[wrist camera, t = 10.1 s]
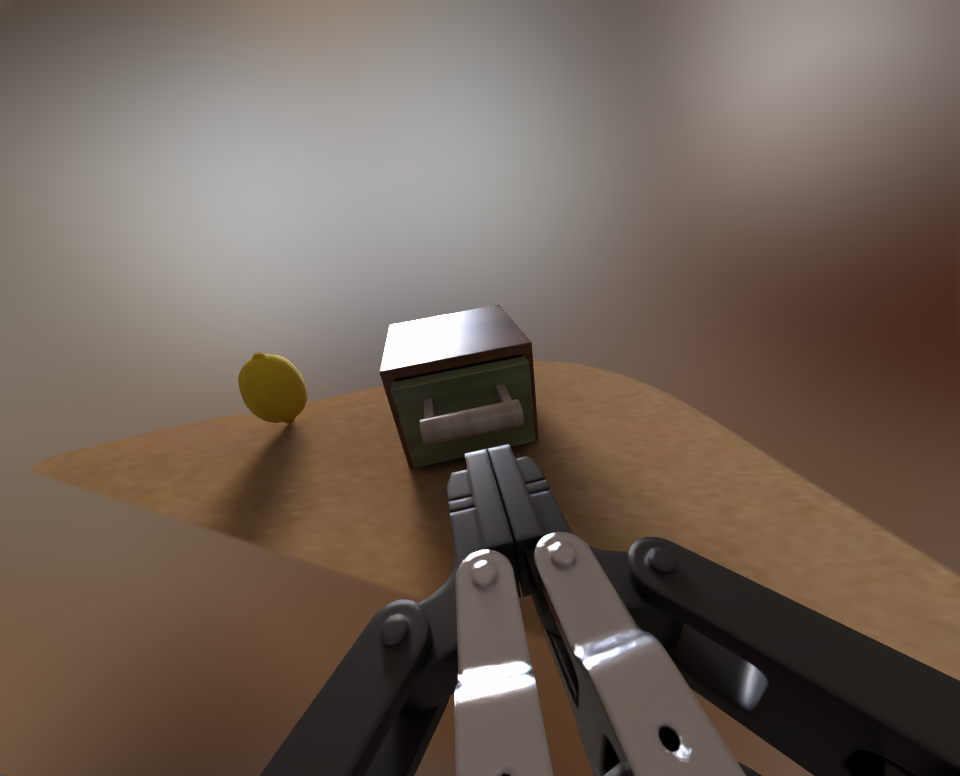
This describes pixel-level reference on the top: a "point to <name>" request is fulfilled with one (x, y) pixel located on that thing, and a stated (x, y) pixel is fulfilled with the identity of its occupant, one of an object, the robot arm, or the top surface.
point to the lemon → (272, 388)
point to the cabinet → (451, 349)
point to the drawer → (465, 409)
